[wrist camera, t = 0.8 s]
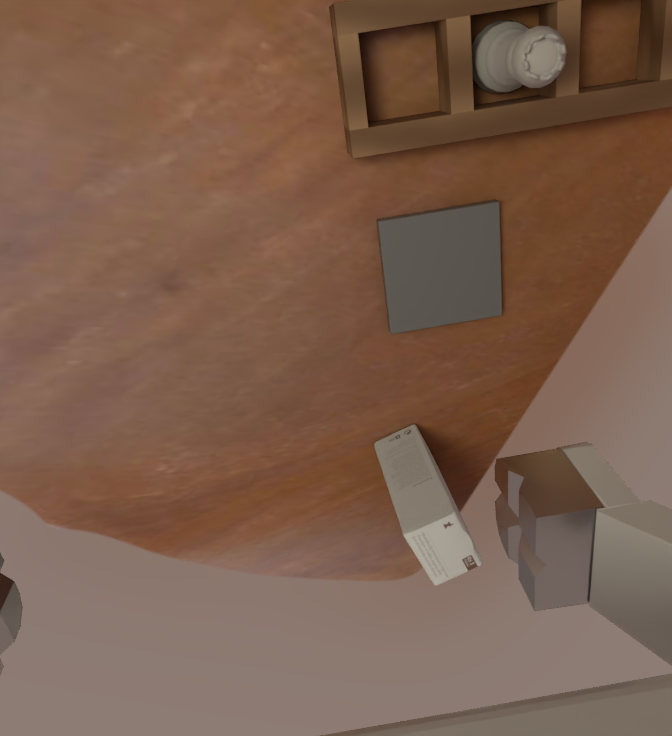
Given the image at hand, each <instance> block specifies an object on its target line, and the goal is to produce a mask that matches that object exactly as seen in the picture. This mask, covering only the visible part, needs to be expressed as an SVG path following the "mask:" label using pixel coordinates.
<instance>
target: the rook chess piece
mask: <svg viewBox="0 0 672 736" xmlns="http://www.w3.org/2000/svg"><path fill="white" fill-rule="evenodd" d="M471 49H472V74H473V79H474V81H475V82H476V83H477V84H478V86H479V87H480V88H482V89H484V90H486V91H488V92H490V93H508V92H511V91H513V90H515V89H518V88H520V87H521V86H522V85H525V86H527V87H529V88H541V87H543V86H546V85H548V84H550V83H551V82H552V81H553V80H554V79H555V78H556V77H557V76H558V75H559V74H560V72H561V71H562V69H563V67H564V65H565V58H566V53H567V50H566V45H565V42H564V39H563V38H562V36H561V35H560V34H559V32H558V31H557V30H555V29H553V28H551V27H549V26H536V27H534V28H531V29H529V28H528V27H526V26H525V25H523V24H521V23H519V22H517V21H508V20H499V21H496V22H494V23H492V24H490V25H487V26H486V27H485V28H484V29H483V30H482V31H481V32H480V33H479V34H478V35H477V36H476V38H475V40H474V42H473V45H472V47H471Z"/></svg>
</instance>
